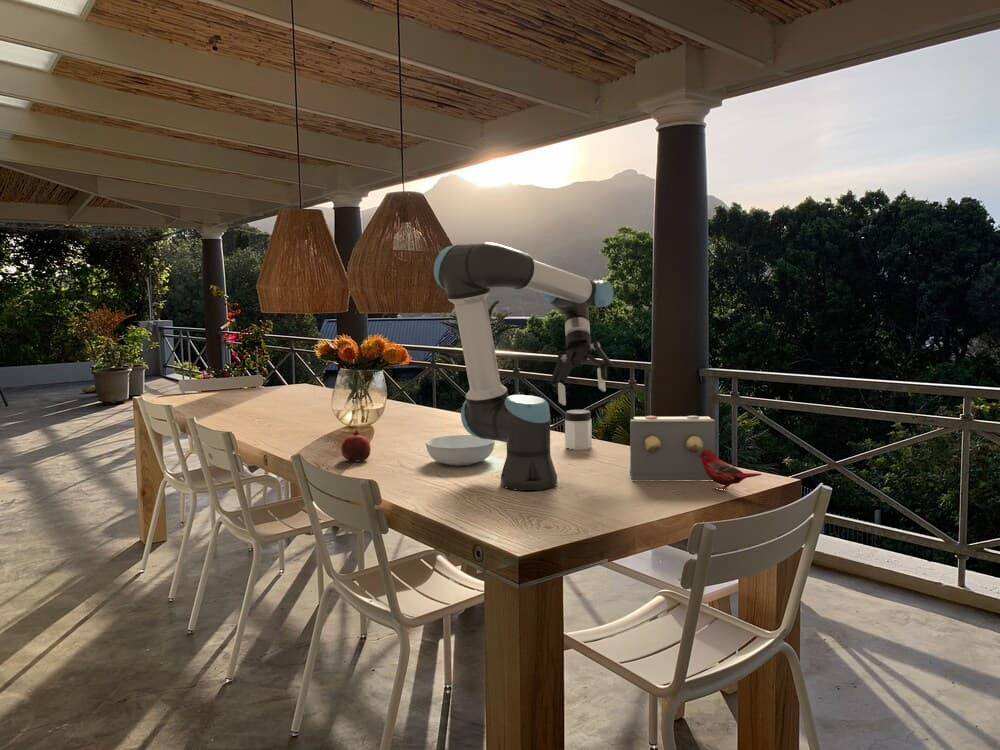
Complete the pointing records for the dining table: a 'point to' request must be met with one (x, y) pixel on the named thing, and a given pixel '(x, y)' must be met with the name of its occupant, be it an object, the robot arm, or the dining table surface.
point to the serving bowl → (459, 449)
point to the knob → (694, 443)
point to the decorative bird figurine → (722, 470)
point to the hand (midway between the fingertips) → (582, 396)
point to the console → (669, 447)
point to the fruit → (356, 447)
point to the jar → (578, 430)
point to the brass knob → (652, 443)
